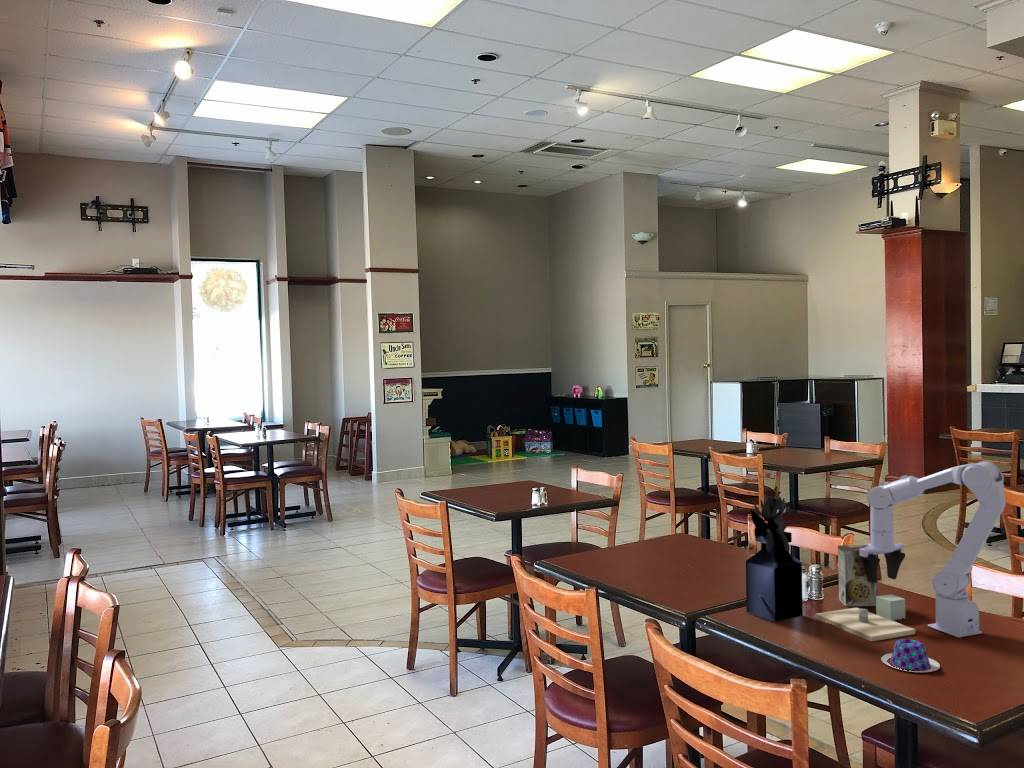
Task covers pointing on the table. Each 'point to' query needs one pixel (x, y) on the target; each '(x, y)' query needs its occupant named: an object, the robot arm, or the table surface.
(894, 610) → the pale green cube
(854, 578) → the coffee box
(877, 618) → the board
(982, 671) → the table surface
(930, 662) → the purple patterned hat
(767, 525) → the vase
